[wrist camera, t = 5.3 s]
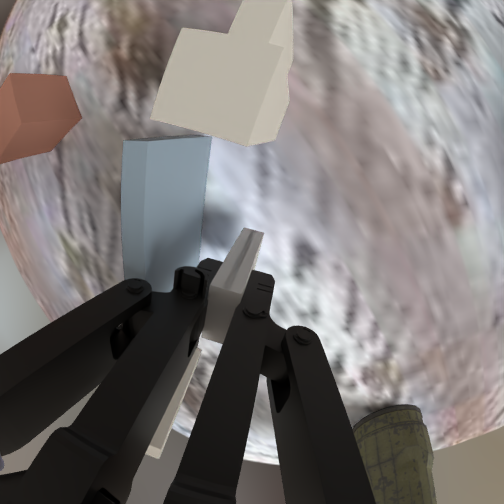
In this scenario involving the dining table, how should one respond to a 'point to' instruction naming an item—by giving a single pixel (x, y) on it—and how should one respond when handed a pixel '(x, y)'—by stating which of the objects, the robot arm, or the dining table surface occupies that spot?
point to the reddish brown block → (34, 114)
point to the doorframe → (227, 102)
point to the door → (162, 206)
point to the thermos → (397, 455)
